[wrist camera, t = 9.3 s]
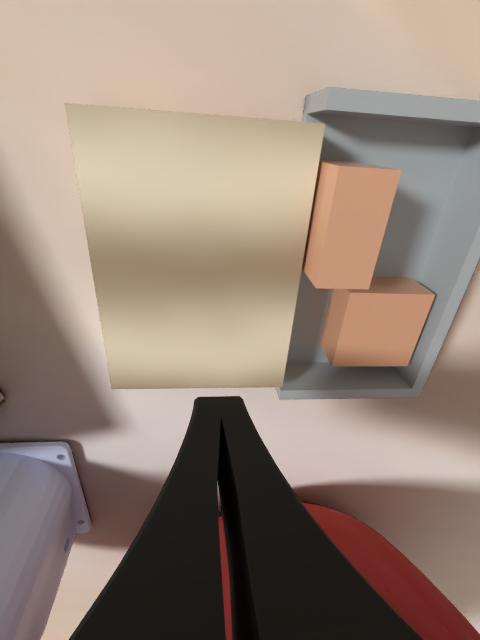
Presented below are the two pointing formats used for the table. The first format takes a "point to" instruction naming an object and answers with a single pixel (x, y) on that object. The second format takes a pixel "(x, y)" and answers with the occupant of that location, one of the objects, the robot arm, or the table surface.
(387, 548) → the mixing bowl
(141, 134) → the board
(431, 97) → the tray
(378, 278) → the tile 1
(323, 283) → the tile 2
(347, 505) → the table surface
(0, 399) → the coffee box
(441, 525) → the table surface
